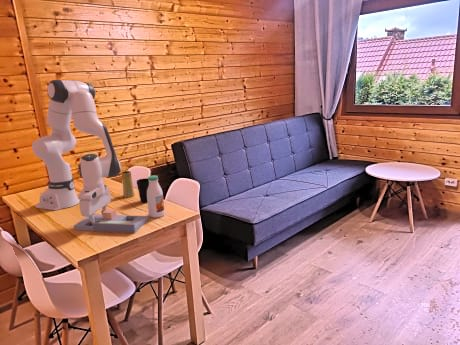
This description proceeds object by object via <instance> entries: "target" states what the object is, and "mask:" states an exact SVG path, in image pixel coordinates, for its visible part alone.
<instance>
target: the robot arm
mask: <svg viewBox="0 0 460 345" xmlns="http://www.w3.org/2000/svg"><path fill="white" fill-rule="evenodd" d="M46 92H47V96H48V98H49V102H48V108H47V115H46V124H47V125H48V126H49V127H50V128H51V134H48V135H45V136H41V137H39V138H37V139H35V140H34V141H33V142H32V144H31V149H32V153H33V154H34V156H36V157H37V158H40V160H42V161H43V163H44V165H45V166H46V169H47V173H48V177H49V178H48V179H49V181H47V182H46V183H45V184H46V186H48V187H47V188H46V189H45V190H44V191H43V192H42V193H41V194H40V195H39V198H38V199H39V201H38V203H37V204H36V205H35V209H41V210H51V211H57V210H61V209H67V208H70V207H74V206H76V205H78V204H79V211H80V214H81V216H82V217H85V218H86V217H89V219H90V221H91V223H94V222H95V221H96V218H94V217H93V216H94V214H95V213H96V212H98V211H99V210H101V211H100V212H101V214H102V212H104V211H105V210H106V209H108V204H109V203H111V202H112V196H111V193H110V190H109V188H108V185H107V184H105V182H104V180H103V178H116V177H117V176H118V175H119V174H120V173H121V171H122V170H121V169H122V167H121V162H120V160H119V158H118V156H117V154H116V150H115V147H114V144H113V142H112V138H111V135H110V133H109V129H108V127H107V126H106V124H105V123H103V122H102V121H100V119H99V116H98V114H97V108H96V103H95V97H96V90H95V87H94V86H93V84H92V83H89V82H85V81H79V80H74V79H73V80H67V79H62V80H61V79H51V80H50V81H49V82H48V84H47V87H46ZM72 123H73V126H74V127H75V128H76V129H77V130H78V131H80V132H81V133H85V134H87V135H88V134H89V135H91V136H95V137H98V138H100V139H101V141H102V144H103V146H104V149H105V152H106V156H103V157H99V155H98V154H95V153H88V154H85V155H81V157H80V162H79V164H78V165H77V168H78V173H79V177H80V178H81V179H83V183H82V186H83V187H82V189H81V191H80V192H79V193H78V195H77V193H76V190H75V181H74V178H73V175H72V169H71V165H70V163H69V162H67V161H66V160H64V158H63V156H62V154H64V153H65V154H66V153H68V152H70V151H71V150H73V149H74V148H75V147H76V146H77V139H76V137H75V136H74V134H73V133H72V131H71V124H72Z"/></svg>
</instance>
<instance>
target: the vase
mask: <svg viewBox="0 0 460 345" xmlns="http://www.w3.org/2000/svg"><path fill="white" fill-rule="evenodd" d="M120 173H121V174H120V175H121V180H122V181H121V182H122V193H123V194H122V195H123V197H124V198H133V197H134V196H135V194H134V193H135V192H134V186H133V178H132V172H131V171H130V170H127V171H126V170H124V171H122V172H120Z"/></svg>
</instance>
